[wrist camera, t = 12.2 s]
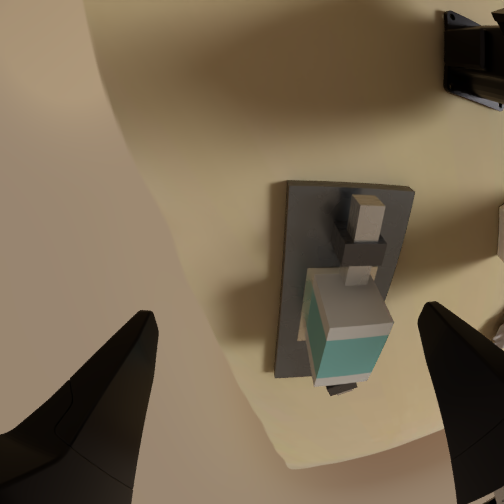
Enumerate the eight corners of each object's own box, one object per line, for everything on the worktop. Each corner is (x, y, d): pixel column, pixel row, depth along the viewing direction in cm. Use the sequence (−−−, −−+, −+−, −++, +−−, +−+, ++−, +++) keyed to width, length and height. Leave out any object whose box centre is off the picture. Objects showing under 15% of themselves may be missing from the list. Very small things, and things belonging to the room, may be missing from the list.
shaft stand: (408, 186, 19) (436, 210, 16) (354, 364, 30) (362, 394, 27) (287, 180, 19) (296, 205, 16) (274, 370, 30) (276, 402, 27)
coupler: (351, 332, 25) (367, 380, 21) (304, 335, 25) (313, 386, 21) (369, 272, 22) (394, 322, 17) (314, 274, 22) (329, 328, 17)
